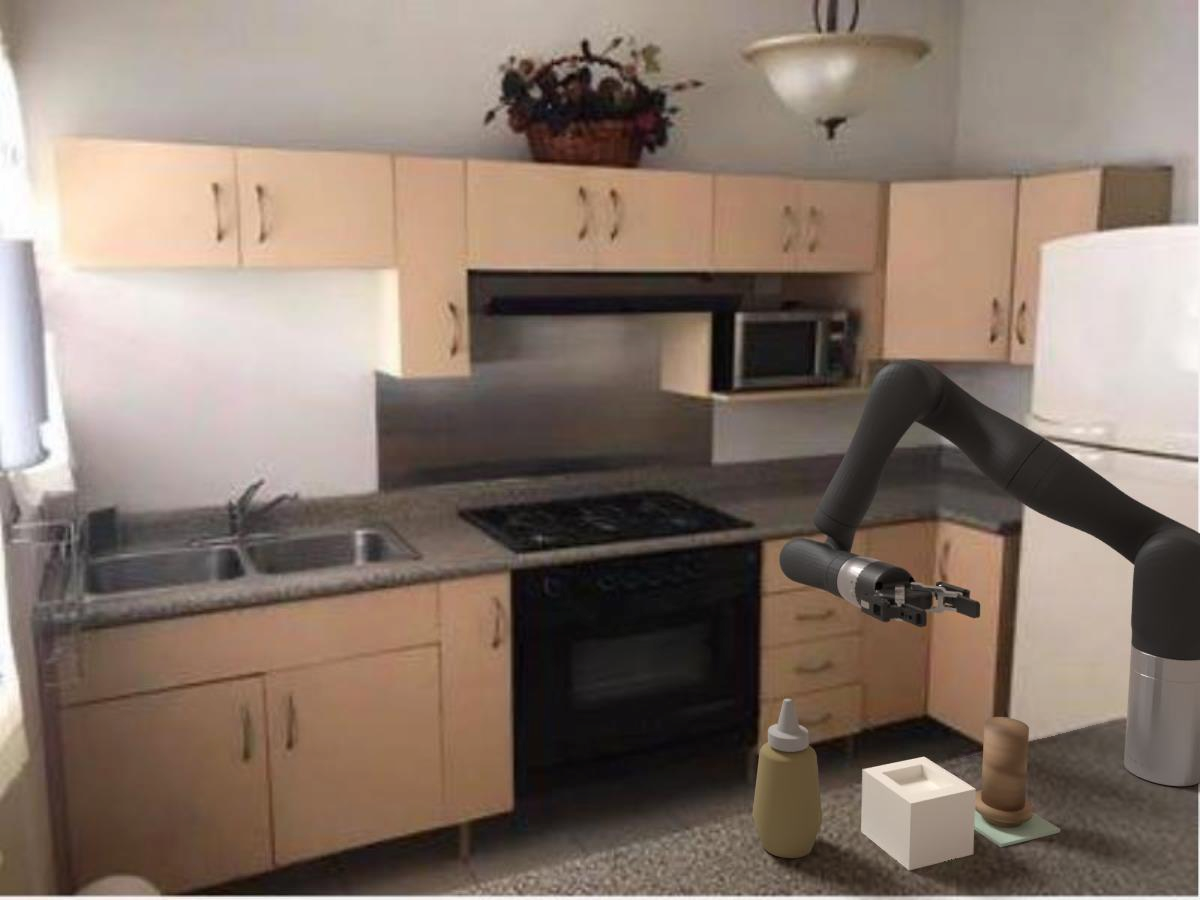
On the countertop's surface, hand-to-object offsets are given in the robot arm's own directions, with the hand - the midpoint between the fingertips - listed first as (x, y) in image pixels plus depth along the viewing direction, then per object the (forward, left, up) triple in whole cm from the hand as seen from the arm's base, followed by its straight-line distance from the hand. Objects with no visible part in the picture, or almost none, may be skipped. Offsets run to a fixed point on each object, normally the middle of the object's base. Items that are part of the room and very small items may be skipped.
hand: (951, 615), depth 127 cm
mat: (0, +11, -23) cm, 25 cm away
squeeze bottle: (+28, +6, -23) cm, 37 cm away
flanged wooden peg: (0, +10, -23) cm, 25 cm away
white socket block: (+13, +11, -23) cm, 29 cm away
